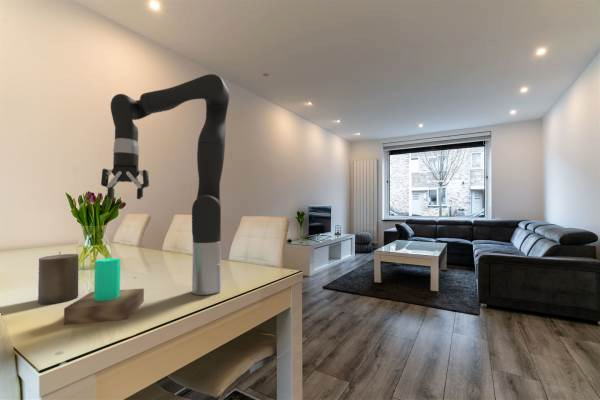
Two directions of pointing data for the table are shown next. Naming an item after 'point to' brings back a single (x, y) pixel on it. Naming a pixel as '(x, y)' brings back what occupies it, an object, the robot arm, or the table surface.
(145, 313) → the table surface
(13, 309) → the table surface
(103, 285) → the teal green tall block
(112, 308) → the walnut stand
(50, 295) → the pillar candle
